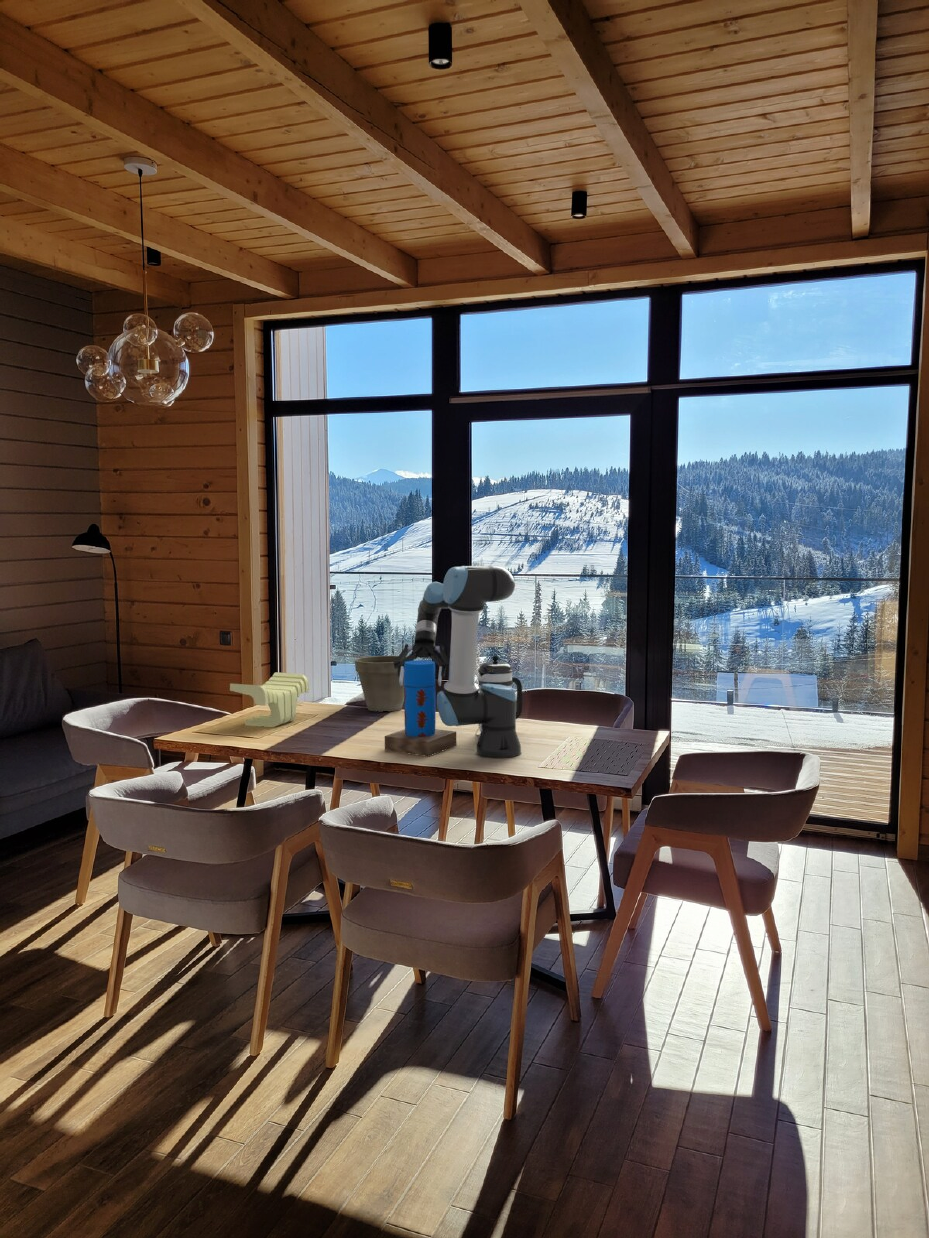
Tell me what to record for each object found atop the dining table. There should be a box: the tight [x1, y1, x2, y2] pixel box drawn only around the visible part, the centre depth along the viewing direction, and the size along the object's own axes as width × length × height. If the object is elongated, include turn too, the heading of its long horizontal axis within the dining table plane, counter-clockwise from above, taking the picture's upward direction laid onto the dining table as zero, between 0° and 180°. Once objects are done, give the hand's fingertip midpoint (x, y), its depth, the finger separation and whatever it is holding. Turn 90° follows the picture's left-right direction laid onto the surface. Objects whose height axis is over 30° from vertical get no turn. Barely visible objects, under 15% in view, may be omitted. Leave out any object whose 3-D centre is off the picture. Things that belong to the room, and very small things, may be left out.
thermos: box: [403, 659, 437, 737], centre depth 316 cm, size 11×11×25 cm
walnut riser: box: [384, 728, 457, 757], centre depth 317 cm, size 18×18×5 cm
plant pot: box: [354, 655, 407, 713], centre depth 388 cm, size 25×25×22 cm
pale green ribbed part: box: [229, 672, 310, 728], centre depth 360 cm, size 30×16×18 cm, turn 157°
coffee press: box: [475, 654, 523, 737], centre depth 335 cm, size 17×16×30 cm
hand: (419, 683), depth 317 cm, fingers open, 13 cm apart
